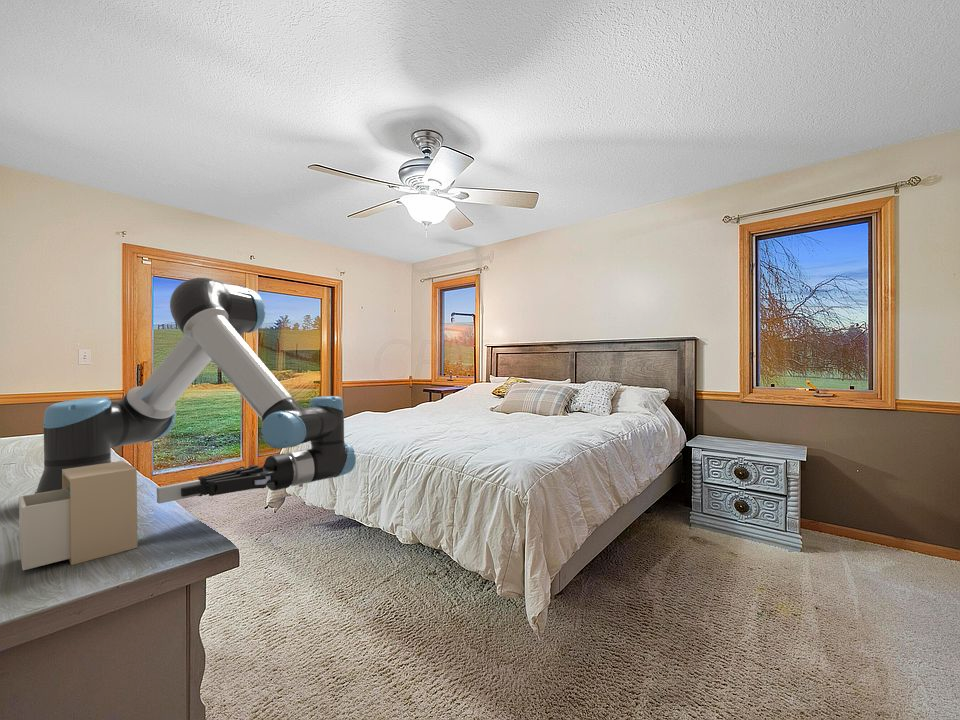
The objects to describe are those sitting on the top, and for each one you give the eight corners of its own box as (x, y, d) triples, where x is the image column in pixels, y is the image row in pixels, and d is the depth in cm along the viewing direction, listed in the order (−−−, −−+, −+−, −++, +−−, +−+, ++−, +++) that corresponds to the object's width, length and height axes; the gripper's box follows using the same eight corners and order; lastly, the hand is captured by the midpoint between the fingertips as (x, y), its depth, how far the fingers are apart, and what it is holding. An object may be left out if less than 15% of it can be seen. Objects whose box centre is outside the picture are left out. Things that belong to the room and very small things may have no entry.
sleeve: (123, 532, 79) (122, 460, 79) (137, 547, 71) (136, 468, 72) (62, 546, 73) (62, 469, 73) (71, 565, 65) (70, 478, 66)
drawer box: (102, 534, 76) (102, 482, 76) (112, 547, 70) (112, 491, 70) (19, 553, 68) (19, 496, 68) (22, 570, 62) (22, 507, 62)
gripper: (301, 491, 91) (167, 524, 74) (275, 482, 100) (149, 509, 82) (301, 456, 91) (166, 480, 74) (274, 450, 100) (149, 469, 83)
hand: (158, 495), depth 78 cm, fingers closed
